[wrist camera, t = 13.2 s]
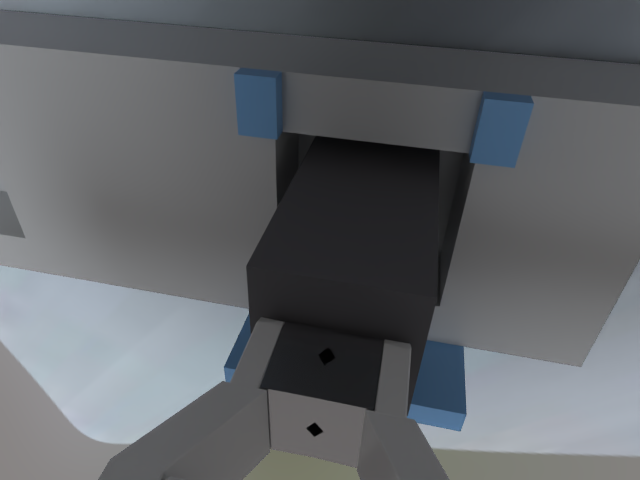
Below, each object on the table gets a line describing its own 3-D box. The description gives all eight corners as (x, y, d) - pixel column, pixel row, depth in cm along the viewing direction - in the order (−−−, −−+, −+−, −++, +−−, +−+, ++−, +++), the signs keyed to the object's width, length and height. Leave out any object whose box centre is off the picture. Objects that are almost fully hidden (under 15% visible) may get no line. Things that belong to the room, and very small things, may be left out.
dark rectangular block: (322, 123, 14) (246, 265, 9) (439, 137, 14) (437, 297, 8) (318, 219, 16) (253, 384, 11) (420, 234, 16) (408, 416, 10)
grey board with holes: (-160, -4, 16) (-405, 37, 12) (657, 66, 13) (787, 169, 8) (-51, 211, 22) (-191, 300, 17) (551, 307, 18) (591, 457, 13)
